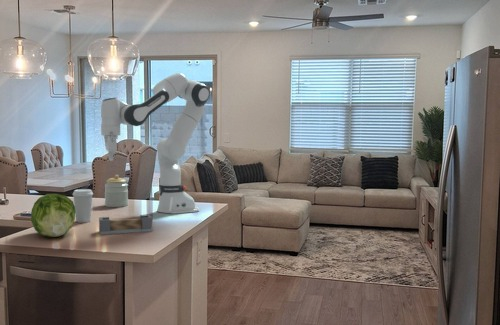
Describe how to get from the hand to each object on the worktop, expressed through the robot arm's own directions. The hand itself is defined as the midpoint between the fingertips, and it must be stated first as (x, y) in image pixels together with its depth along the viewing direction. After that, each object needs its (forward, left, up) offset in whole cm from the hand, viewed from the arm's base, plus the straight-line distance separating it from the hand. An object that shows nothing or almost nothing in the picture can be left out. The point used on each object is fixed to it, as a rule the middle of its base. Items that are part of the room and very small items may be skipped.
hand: (111, 160), depth 242 cm
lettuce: (+25, +25, -29) cm, 46 cm away
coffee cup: (+13, -2, -29) cm, 32 cm away
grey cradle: (-4, +25, -29) cm, 39 cm away
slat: (-4, +25, -28) cm, 38 cm away
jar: (-6, -43, -29) cm, 52 cm away
